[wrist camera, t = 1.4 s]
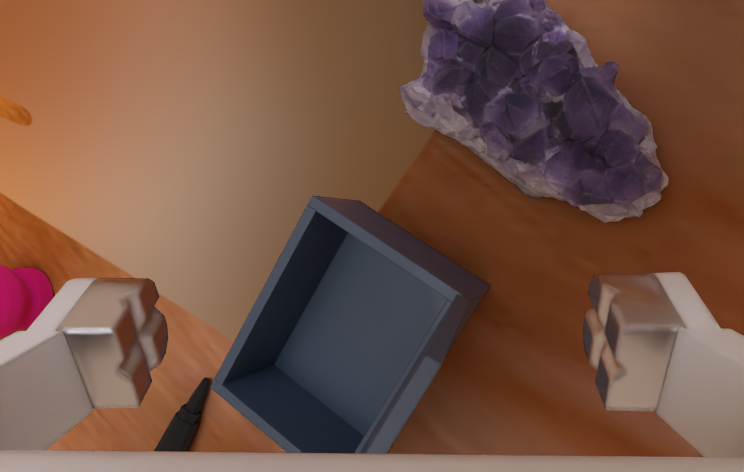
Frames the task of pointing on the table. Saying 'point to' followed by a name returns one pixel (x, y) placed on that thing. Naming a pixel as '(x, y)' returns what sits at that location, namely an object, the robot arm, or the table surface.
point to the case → (339, 327)
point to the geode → (534, 106)
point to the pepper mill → (22, 297)
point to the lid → (416, 381)
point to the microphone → (184, 422)
